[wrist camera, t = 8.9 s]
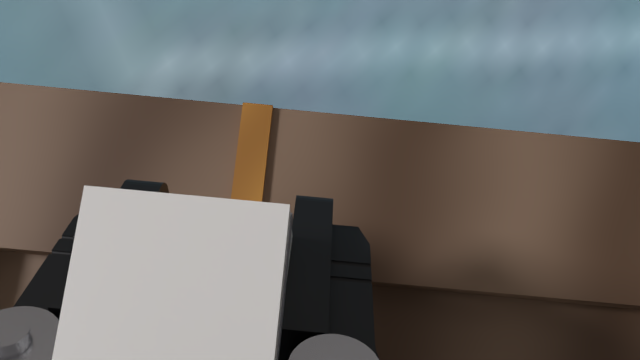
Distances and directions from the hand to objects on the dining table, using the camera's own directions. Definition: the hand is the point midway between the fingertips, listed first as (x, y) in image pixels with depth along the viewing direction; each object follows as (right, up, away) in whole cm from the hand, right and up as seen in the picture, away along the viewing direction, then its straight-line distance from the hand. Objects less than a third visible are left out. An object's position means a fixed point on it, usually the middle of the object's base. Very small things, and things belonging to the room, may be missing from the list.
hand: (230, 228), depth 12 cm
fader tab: (0, -3, +4) cm, 5 cm away
